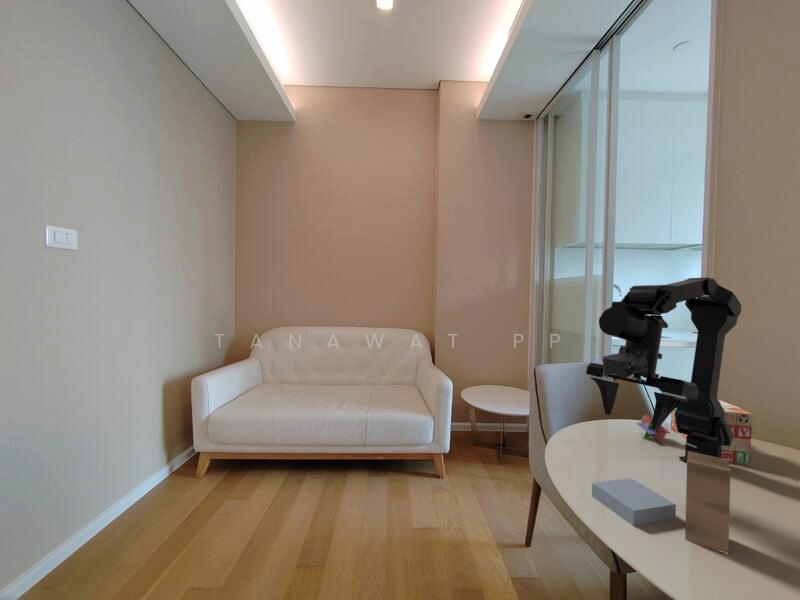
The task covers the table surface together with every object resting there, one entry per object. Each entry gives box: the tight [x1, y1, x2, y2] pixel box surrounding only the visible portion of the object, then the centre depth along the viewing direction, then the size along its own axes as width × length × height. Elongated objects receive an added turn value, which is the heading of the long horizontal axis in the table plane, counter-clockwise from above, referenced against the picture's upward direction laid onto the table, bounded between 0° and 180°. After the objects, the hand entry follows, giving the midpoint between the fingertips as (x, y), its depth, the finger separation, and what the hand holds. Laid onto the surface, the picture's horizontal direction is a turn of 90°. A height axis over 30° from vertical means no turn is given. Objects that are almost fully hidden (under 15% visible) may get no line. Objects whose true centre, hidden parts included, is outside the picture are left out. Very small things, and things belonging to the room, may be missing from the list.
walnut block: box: [684, 451, 731, 555], centre depth 56 cm, size 5×5×12 cm
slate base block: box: [591, 477, 677, 527], centre depth 64 cm, size 9×9×3 cm
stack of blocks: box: [670, 399, 753, 465], centre depth 93 cm, size 21×6×12 cm, turn 169°
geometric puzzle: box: [636, 413, 671, 444], centre depth 95 cm, size 7×7×8 cm
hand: (629, 421), depth 70 cm, fingers open, 9 cm apart
